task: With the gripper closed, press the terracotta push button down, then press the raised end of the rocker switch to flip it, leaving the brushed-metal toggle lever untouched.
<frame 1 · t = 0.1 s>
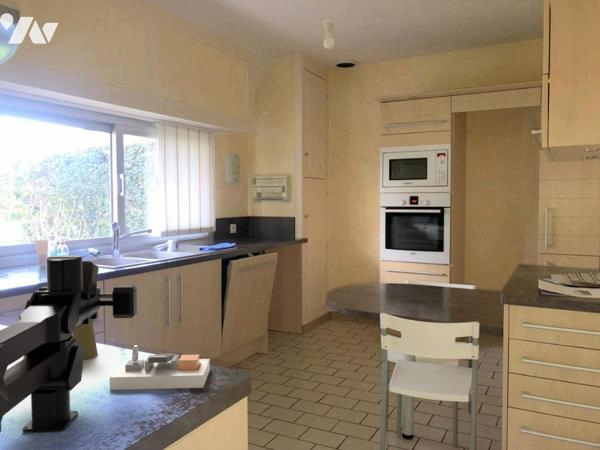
hand: (101, 294, 106), 17 cm above the countertop, tool horizontal, fingers open, 9 cm apart
toggle lever: (135, 353, 102), point 5 cm above the countertop, hinge at 20.0°
switch panel: (162, 379, 102), on the countertop
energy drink: (47, 347, 125), on the countertop
push button: (189, 364, 102), point 3 cm above the countertop, slide at 0.0 cm
rocker switch: (162, 357, 101), point 5 cm above the countertop, hinge at 12.0°
cork: (84, 356, 117), on the countertop
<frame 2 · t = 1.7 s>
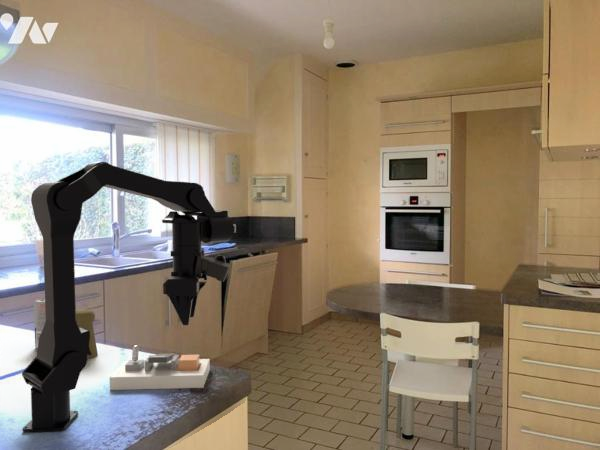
hand: (188, 320, 101), 12 cm above the countertop, tool pointing down, fingers open, 6 cm apart
nothing on the countertop moved.
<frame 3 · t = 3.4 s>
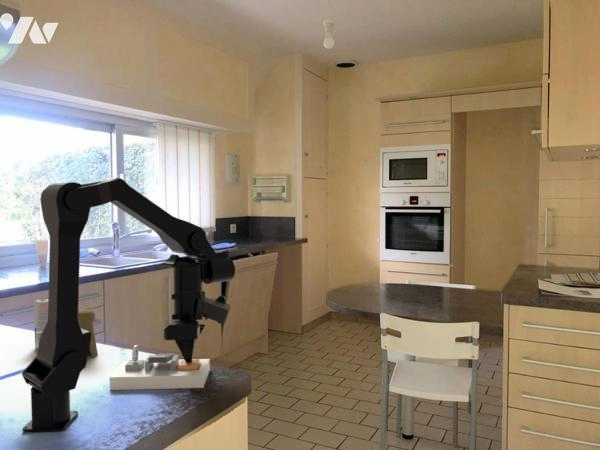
hand: (189, 362, 102), 3 cm above the countertop, tool pointing down, fingers closed
push button: (189, 369, 102), point 2 cm above the countertop, slide at 1.0 cm
everything else where it was.
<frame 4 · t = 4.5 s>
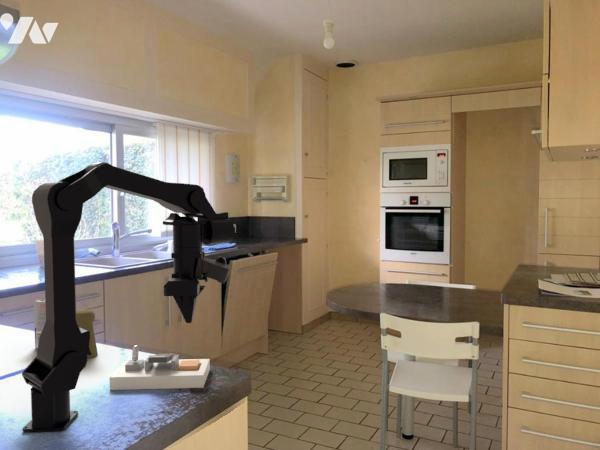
hand: (189, 322, 102), 12 cm above the countertop, tool pointing down, fingers closed
nothing on the countertop moved.
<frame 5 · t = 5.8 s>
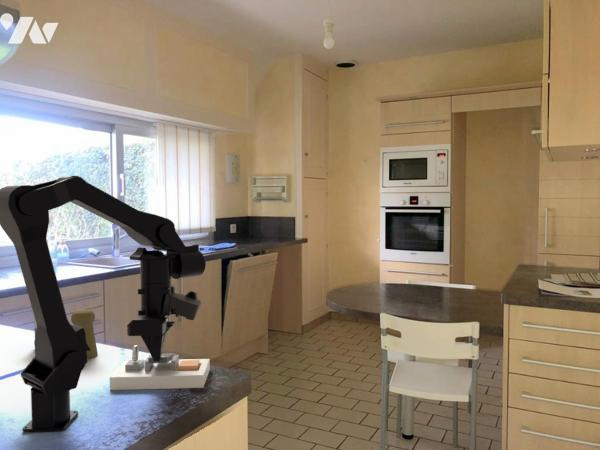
hand: (157, 361, 97), 5 cm above the countertop, tool pointing down, fingers closed, pressing on rocker switch
rocker switch: (162, 357, 101), point 5 cm above the countertop, hinge at 11.0°, touching gripper
everything else where it was.
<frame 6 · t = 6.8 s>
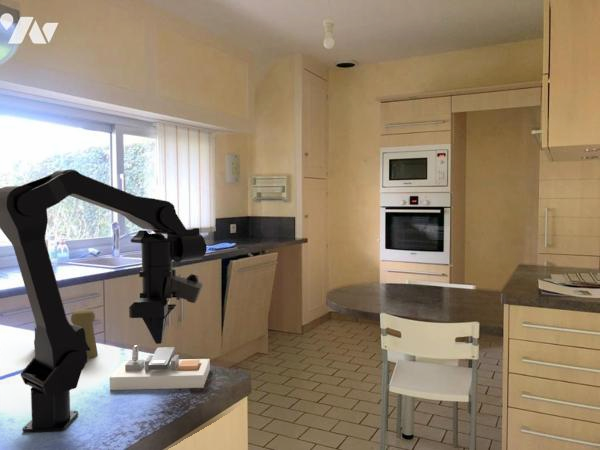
hand: (158, 343, 98), 9 cm above the countertop, tool pointing down, fingers closed
rocker switch: (162, 357, 101), point 5 cm above the countertop, hinge at -7.8°
everything else where it was.
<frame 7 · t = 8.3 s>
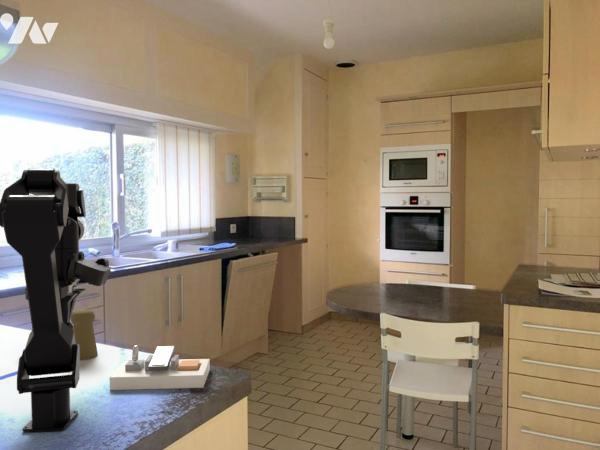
hand: (64, 327, 97), 12 cm above the countertop, tool pointing down, fingers closed
rocker switch: (162, 357, 101), point 5 cm above the countertop, hinge at -12.3°
everything else where it was.
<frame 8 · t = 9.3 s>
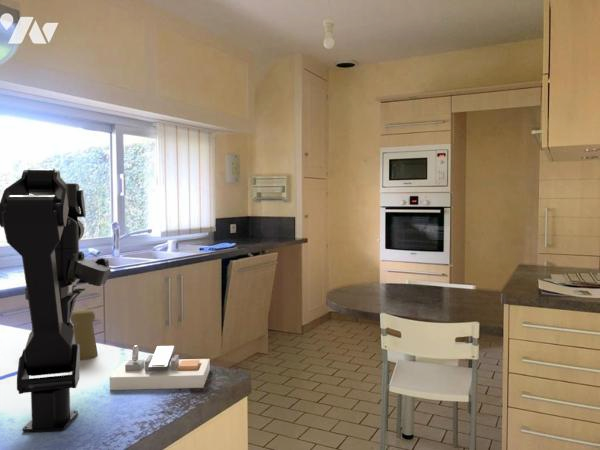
hand: (64, 327, 97), 12 cm above the countertop, tool pointing down, fingers closed
rocker switch: (162, 357, 101), point 5 cm above the countertop, hinge at -13.0°
everything else where it was.
at the end: push button slide at 1.2 cm; rocker switch at -13° (first picture: +12°); toggle lever at +20° (first picture: +20°) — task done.
